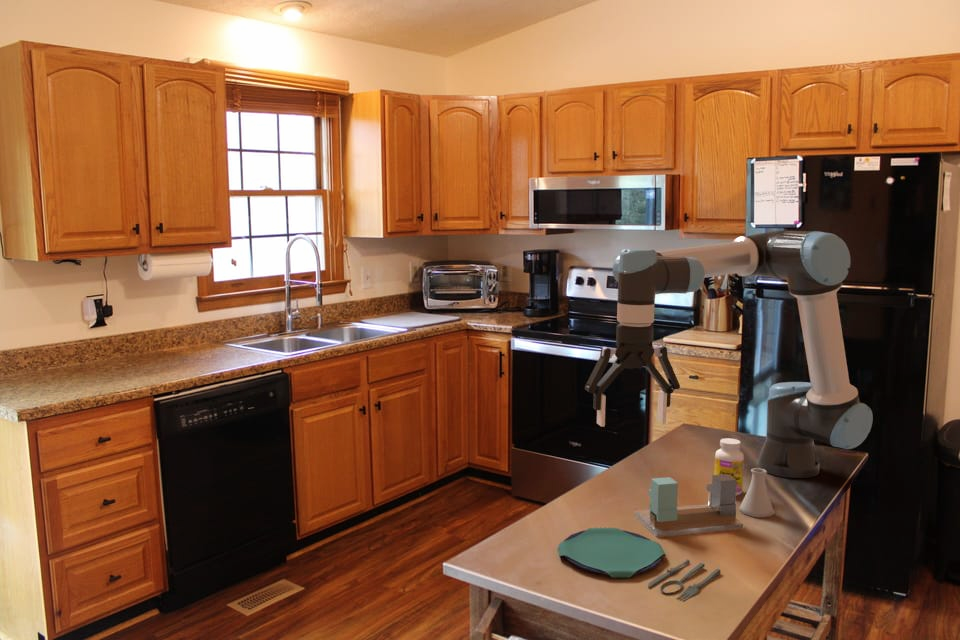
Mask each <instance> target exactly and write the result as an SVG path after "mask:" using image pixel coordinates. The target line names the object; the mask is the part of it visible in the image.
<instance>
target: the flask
mask: <svg viewBox="0 0 960 640" xmlns="http://www.w3.org/2000/svg"><path fill="white" fill-rule="evenodd" d="M750 472H751V474H752V475H751V481H750V485H749V486H748V489H747V492H746V494H745V496H744V497H743V500H742V502H741V504H740V506H739V510H740V511H741V512H742V513H743V514H744V515H747V516H749V517H753V518H770V517H771V516H773V515H775V511H774V509H773V505H772V502H771V498H770V497H769V496H770V495H769V493H768V489H767V483H766V474H768V473H767V471H766V470H764V469H761V468H759V467H754V468H751V469H750Z"/></svg>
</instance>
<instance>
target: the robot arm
mask: <svg viewBox="0 0 960 640" xmlns="http://www.w3.org/2000/svg"><path fill="white" fill-rule="evenodd" d="M850 254H851V253H850V250H849V248H848V246H847V244H846V242H845V241H844V240H843V239H842V238H841V237H839V236H838V235H836V234H834V233H830V232H825V231H824V232H823V231H821V230H815V231H812V230H811V231H809V230H806V231H805V230H786V229H784V230H783V229H781V230H779V229H778V230H773V231H766V232H762V233H761V232H759V233H755V234H751V235H744V236H739V237H736V238H734V240H733V241H731V242H724V243H723V242H722V243H714V244H707V245H699V246H691V247H689V246H688V247H681V248H673V249H665V250H657V251H656V250H655V249H653V248H633V247H632V248H631V247H630V248H624V249H622V251H620V253H619V255H618V256H617V257H616V258H615V260H614V261H613V265H612V275H613V278H614V280H615V281H616V282H617V305H616V306H617V310H616V311H617V312H616V313H617V314H616V320H617V322H618V324H617V325H616V332H615V333H616V334H615V335H616V336H615V337H616V339H615V342H616V343H615V344H616V345H615V347H614V348H613V347H607V346H605V345H603V346H601V348H600V355H599V358H598V360H597V362H596V364H595V366H594V368H593V370H592V372H591V373H590V376H589V377H588V380H587V381H586V384H585V386H584V390H585V391H587V392H588V393H591V394H592V395H593V397H592V399H593V403H592V405H593V406H592V408H593V409H594V410H595V411H596V424H597V425H599V426H600V427H603V428H604V427H605V425H606V404H607V403H606V399H607V398H606V395H605V394H604V393H605V391H606V389H608V388H609V387H610V385H611V384H612V383H613V382H614V380H615V379H616V378H617V377H618V375H619V374H620V373H621V372H622V371H624V370H625V369H627V370H633V369H635V368H636V369H643V368H645V370H647V372H648V373H649V374H650V375H651V377H652V378H653V379H654V381H655V382H656V383H657V385H658V386H659V387H660V388H661V389H662V390H660V389H659V390H658V392H657V393H658V394H657V410H656V412H657V413H656V421H657V422H659V423H660V424H667V408H669V407H670V406H671V399H672V398H671V397H672V396H671V395H672V394H673V393H674V392H675V390H679V389H680V388H681V384H680V382H679V379H678V377H677V376H676V374H675V370H674V369H673V366H672V364H671V361H670V359H669V357H668V355H669V354H668V348H667V347H666V346H664V345H661V344H658V345H657V346H653V343H654V326H653V325H652V324H653V323H654V322H655V302H656V301H655V299H656V295H661V294H663V295H664V294H687V293H693V292H697V291H698V290H700V288H701V287H702V286H703V284H704V282H705V278H706V279H707V278H712V277H718V276H725V275H726V276H727V275H732V274H733V275H734V274H737V275H738V276H740V277H750V276H758V277H767V278H773V279H779V280H786V282H787V289H788V292H789V293H788V294H790V295H791V296H792V297H794V298H796V300H797V308H798V313H799V318H800V319H799V320H800V325H801V330H802V338H803V343H804V350H805V356H806V361H807V366H808V367H807V369H808V375H809V381H810V382H807V381H806V382H804V381H786V382H778V383H774V384H772V385H771V386H770V387H769V391H768V397H767V414H766V415H767V416H766V418H767V419H766V436H765V437H766V438H765V441H764V443H763V445H762V448H761V450H760V452H759V455H758V458H757V468H761V469H764V470H766V471H767V473H766V474H770V475H773V476H777V477H781V478H788V479H790V478H791V479H806V478H807V479H809V478H812V477H813V478H814V477H816V476H818V475H819V473H820V461H819V456H818V454H817V450H816V446H815V442H814V441H818V442H823V443H826V444H827V445H828V444H829V445H830V446H832V447H835V448H842V449H845V450H850V449H851V450H852V449H855V448H857V447H859V446H860V445H861V444H862V443H863V442H864V441H865V440H867V439H866V438H868V435H869V433H870V432H871V429H872V425H873V421H874V420H873V411H872V409H871V408H870V406H868V405H867V404H865V403H863V402H860V397H859V391H858V388H857V387H855V386H854V385H852V384H851V383H850V379H849V378H850V377H849V370H848V365H847V357H846V350H845V343H844V338H843V331H842V323H841V317H840V309H839V301H838V296H837V293H838V291H839V290H840V289H841V288H842V286H843V281H844V280H845V279H846V277H847V276H848V274H849V269H850V268H851V255H850ZM654 355H655V356H656V357H657V359H658V361H659V364H660V366H661V369H662V370H663V373H664V375H665V378H666V379H667V380H666V379H665V378H664V376H663V375H662V374H661V373H660V372H659V370H658V369H657V367H656V365H655V364H654V363H653V362H652V360H651V358H652V357H653V356H654ZM613 356H615V360H614V361H613V363H612V366H610V368H609V369H608V370H607V371H606V373H605V370H606V368H607V367H608V364H609V362H610V359H612V357H613ZM604 373H605V374H604Z"/></svg>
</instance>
